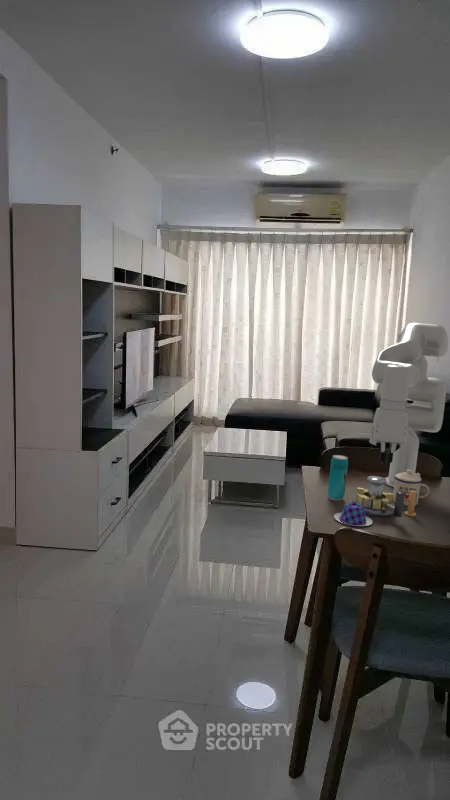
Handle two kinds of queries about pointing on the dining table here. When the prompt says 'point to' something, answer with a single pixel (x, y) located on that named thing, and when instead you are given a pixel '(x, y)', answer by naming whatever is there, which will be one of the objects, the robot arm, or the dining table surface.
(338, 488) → the beverage can
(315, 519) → the dining table surface
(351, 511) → the pudding
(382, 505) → the segmented ring with handle
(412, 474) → the teacup with lid
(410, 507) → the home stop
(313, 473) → the dining table surface
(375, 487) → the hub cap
